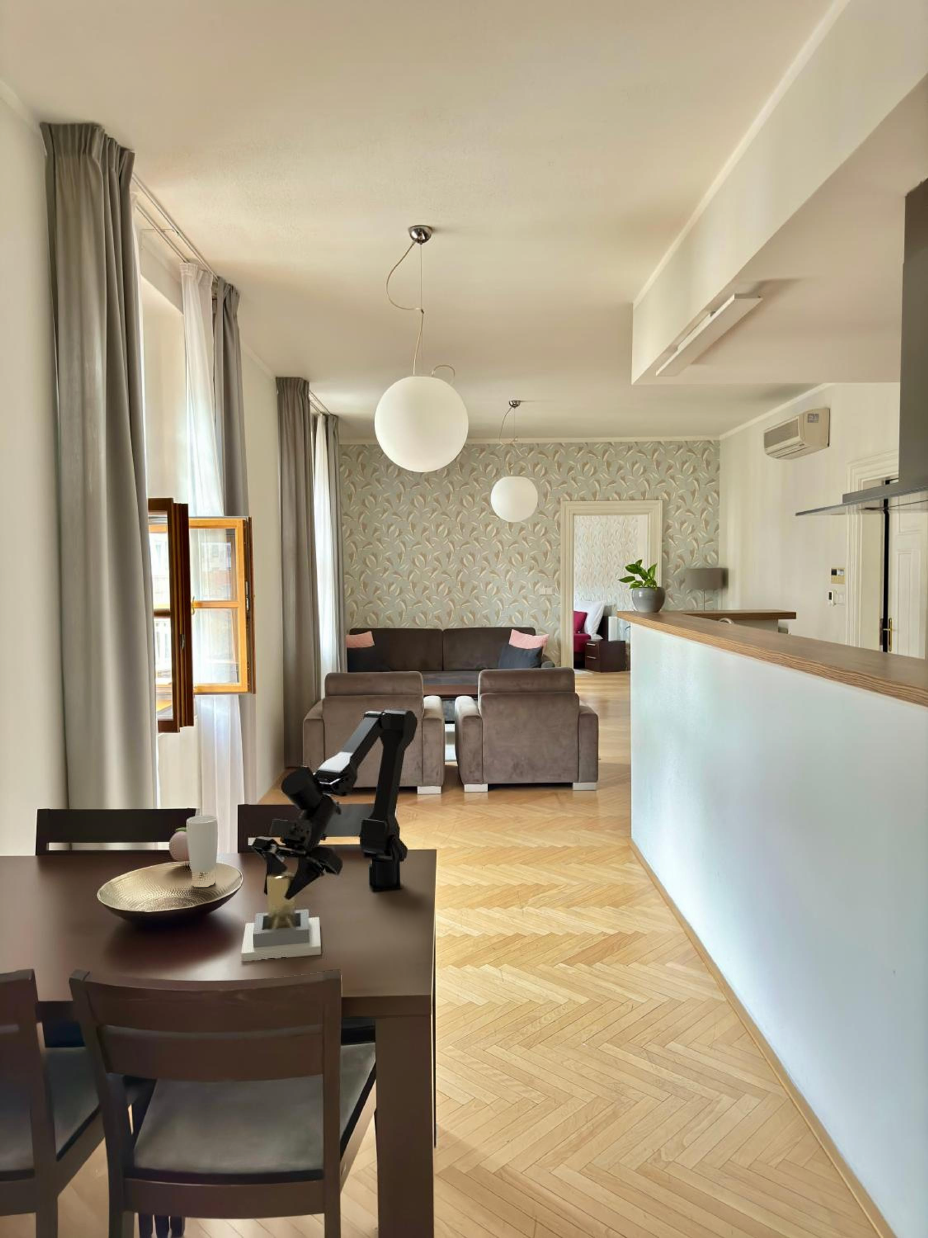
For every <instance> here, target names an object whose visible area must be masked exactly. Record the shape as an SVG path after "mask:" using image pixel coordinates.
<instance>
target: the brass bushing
mask: <svg viewBox="0 0 928 1238" xmlns="http://www.w3.org/2000/svg"><path fill="white" fill-rule="evenodd" d="M294 876H295V873H293V872H290V871H285V872H276V873H272V874H270V875H268V876H267V895H266V896H267V913H268V930H270V929H281V928H293V927H296V922H295V910H296V895H295V896H294V897H292V898H291V899H290V900H288V899H287V898H286V894H287V891H288V888H289V886H290V884H291V882H292V880H293V878H294Z"/></svg>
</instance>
